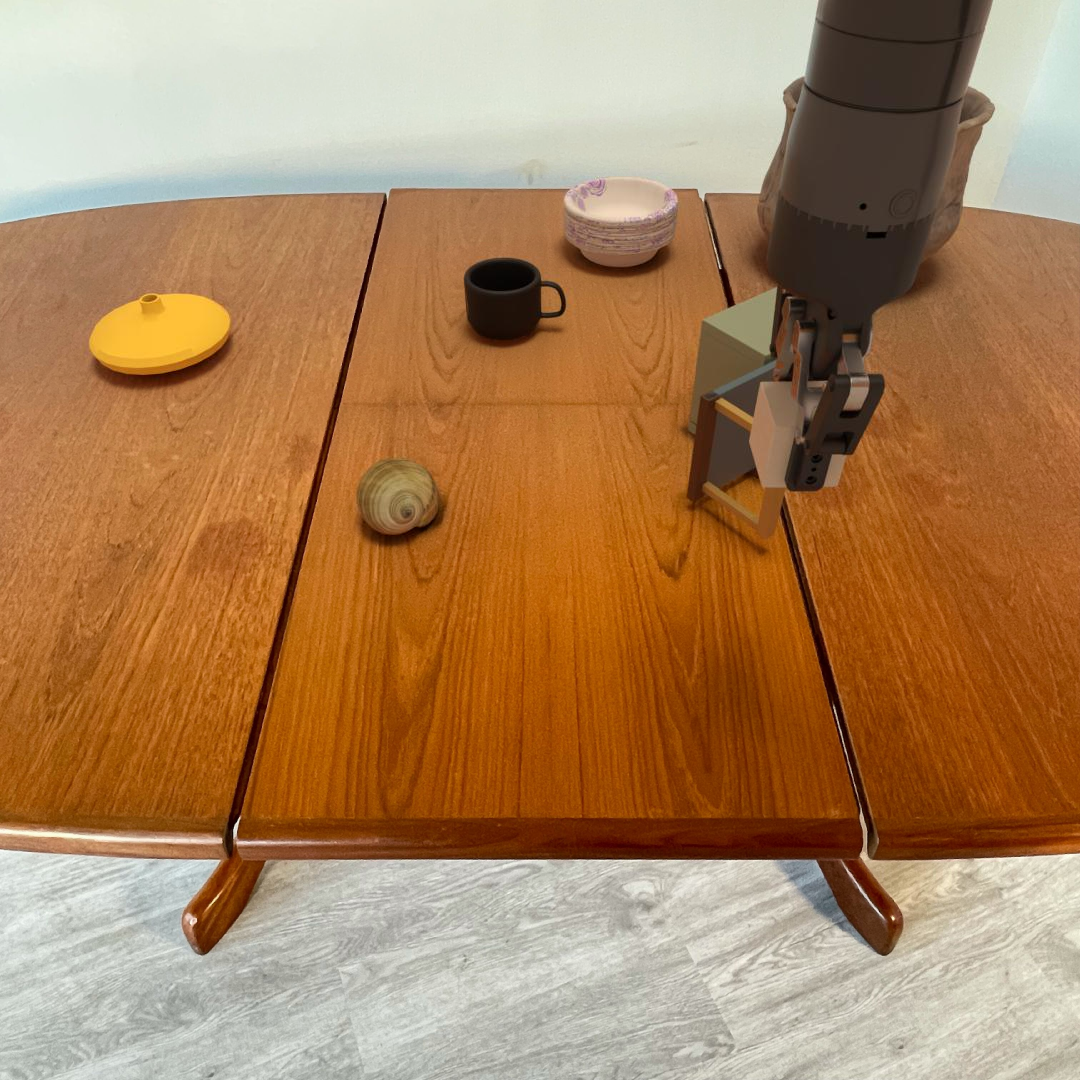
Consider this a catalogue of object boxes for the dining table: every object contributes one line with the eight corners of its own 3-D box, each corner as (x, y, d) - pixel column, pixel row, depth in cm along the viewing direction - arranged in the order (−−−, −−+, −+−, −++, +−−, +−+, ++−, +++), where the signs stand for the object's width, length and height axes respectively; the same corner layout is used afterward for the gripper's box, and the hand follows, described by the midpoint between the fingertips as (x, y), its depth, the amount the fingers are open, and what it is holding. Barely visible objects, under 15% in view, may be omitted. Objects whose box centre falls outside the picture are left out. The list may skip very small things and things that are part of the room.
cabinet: (862, 419, 93) (895, 308, 84) (758, 478, 86) (781, 364, 77) (790, 377, 99) (814, 269, 90) (687, 430, 92) (702, 319, 83)
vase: (217, 389, 98) (200, 334, 93) (77, 391, 98) (52, 336, 93) (250, 317, 110) (236, 264, 105) (124, 319, 110) (104, 266, 105)
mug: (461, 346, 104) (456, 291, 99) (474, 308, 111) (470, 254, 106) (561, 351, 103) (562, 296, 98) (569, 313, 110) (570, 259, 105)
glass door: (868, 483, 84) (901, 381, 76) (758, 551, 77) (781, 447, 69) (795, 437, 89) (818, 337, 81) (686, 497, 83) (700, 395, 75)
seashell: (386, 521, 88) (323, 487, 83) (426, 464, 88) (366, 425, 82) (428, 565, 81) (363, 531, 76) (472, 503, 81) (409, 464, 75)
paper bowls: (580, 223, 128) (581, 168, 123) (683, 236, 125) (689, 180, 119) (548, 270, 118) (548, 212, 112) (660, 286, 114) (665, 227, 109)
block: (820, 440, 56) (836, 380, 53) (837, 487, 53) (855, 425, 50) (748, 441, 56) (760, 381, 53) (761, 488, 53) (774, 426, 50)
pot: (920, 230, 125) (969, 66, 111) (960, 313, 108) (1024, 132, 94) (742, 224, 127) (767, 62, 112) (755, 305, 110) (786, 127, 96)
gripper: (755, 134, 48) (715, 395, 60) (815, 254, 38) (753, 541, 49) (893, 132, 48) (826, 393, 60) (991, 252, 38) (886, 539, 49)
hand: (793, 459), depth 55 cm, fingers closed on block, 4 cm apart
